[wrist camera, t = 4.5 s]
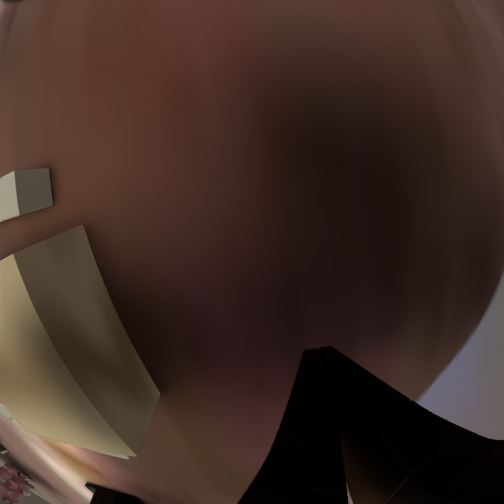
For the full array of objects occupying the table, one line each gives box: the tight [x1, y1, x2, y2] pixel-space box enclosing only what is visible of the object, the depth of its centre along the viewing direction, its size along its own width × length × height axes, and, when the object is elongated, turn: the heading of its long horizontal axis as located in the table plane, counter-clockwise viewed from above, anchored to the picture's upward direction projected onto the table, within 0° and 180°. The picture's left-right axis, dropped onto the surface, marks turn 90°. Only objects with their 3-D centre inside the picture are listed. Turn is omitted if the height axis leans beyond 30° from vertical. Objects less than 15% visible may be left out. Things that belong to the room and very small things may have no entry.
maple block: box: [0, 224, 160, 457], centre depth 8 cm, size 8×8×4 cm
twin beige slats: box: [0, 168, 131, 460], centre depth 9 cm, size 14×12×2 cm
